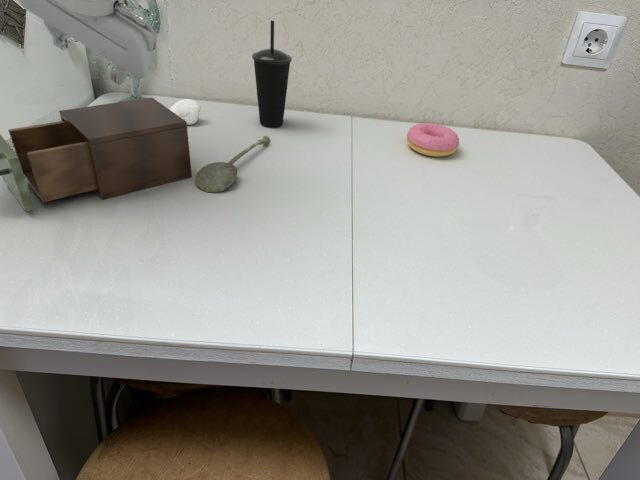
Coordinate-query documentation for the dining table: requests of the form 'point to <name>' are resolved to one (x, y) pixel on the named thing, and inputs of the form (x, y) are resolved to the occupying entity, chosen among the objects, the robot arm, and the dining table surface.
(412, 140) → the doughnut
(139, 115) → the cabinet
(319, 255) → the dining table surface
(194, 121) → the dumpling
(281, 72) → the drinking cup
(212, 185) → the soupspoon
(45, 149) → the drawer
